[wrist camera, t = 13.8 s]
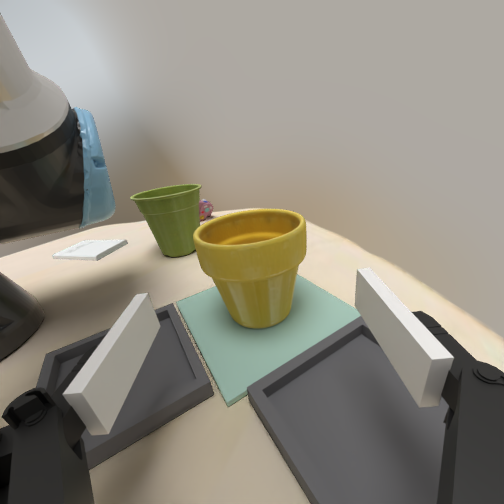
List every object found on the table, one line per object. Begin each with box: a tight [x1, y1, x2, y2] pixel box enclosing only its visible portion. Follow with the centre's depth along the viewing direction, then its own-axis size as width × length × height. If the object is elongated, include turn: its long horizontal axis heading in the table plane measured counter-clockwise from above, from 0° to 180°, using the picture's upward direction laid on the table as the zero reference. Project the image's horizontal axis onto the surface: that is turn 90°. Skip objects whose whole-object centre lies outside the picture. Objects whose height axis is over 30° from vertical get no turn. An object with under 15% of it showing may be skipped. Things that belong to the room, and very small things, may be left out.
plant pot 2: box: [193, 209, 306, 329], centre depth 24 cm, size 10×10×10 cm
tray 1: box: [36, 303, 214, 470], centre depth 20 cm, size 12×12×2 cm
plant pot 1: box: [130, 184, 201, 257], centre depth 44 cm, size 12×12×11 cm
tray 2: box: [247, 316, 449, 504], centre depth 15 cm, size 12×12×2 cm
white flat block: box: [52, 240, 128, 261], centre depth 52 cm, size 2×8×12 cm
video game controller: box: [199, 199, 213, 221], centre depth 61 cm, size 10×5×7 cm, turn 119°
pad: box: [176, 274, 361, 407], centre depth 26 cm, size 15×15×1 cm
